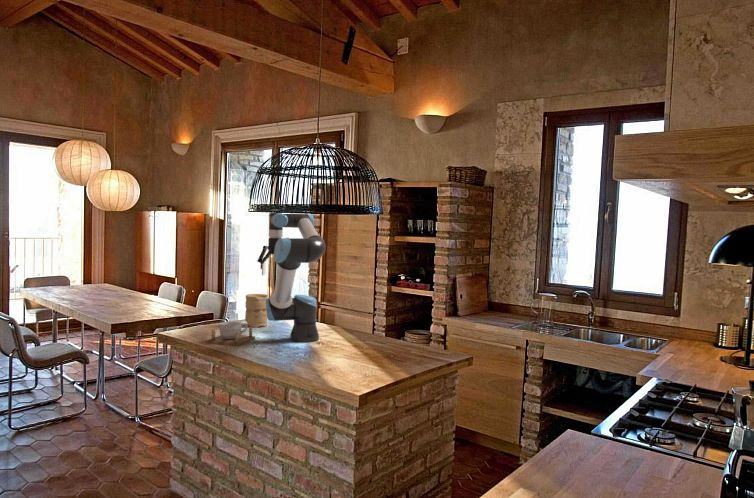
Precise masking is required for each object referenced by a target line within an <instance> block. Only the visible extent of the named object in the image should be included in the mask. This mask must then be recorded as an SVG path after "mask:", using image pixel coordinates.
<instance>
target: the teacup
mask: <svg viewBox="0 0 754 498" xmlns="http://www.w3.org/2000/svg"><path fill="white" fill-rule="evenodd" d="M218 326H219V336H222V337H223V338H224V339H235V338H236V332H239V335H243V333H244V332H246V331H247V330H248V329H249V325H248V323H247V322H246V323H245V322H242V323H241V322H239V321H224V322H220V323H219V325H218ZM243 326H245V328H243ZM242 328H243V330H242Z"/></svg>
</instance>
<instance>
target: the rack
mask: <svg viewBox="0 0 754 498" xmlns="http://www.w3.org/2000/svg"><path fill="white" fill-rule="evenodd" d="M254 340H256V336H254V335H253V327H250V326H248V335H247V334H246V335H244V334H241V335H239V332H236V338H235V339H224V338H223V337H222V336H221V335H218V336H216V330H215V329H211V338H210V339H208V340H207V343H208V344H213V345H223V346H224V345H225V346H232V345H233V346H234V347H240V346H243V345H244V344H247V343H250V342H252V341H254Z"/></svg>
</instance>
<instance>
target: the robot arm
mask: <svg viewBox="0 0 754 498" xmlns="http://www.w3.org/2000/svg"><path fill="white" fill-rule="evenodd" d="M314 223H315V218H314V215H313V214H311V213H290V214H282V213H269V214H268V237H269V238H268V246H267V245H263V246H262V251H261V252H260V254H259V257H258V258H257V261H256V262H257V263H260V270H261V276H266V262H267V260H268V259H269V258H270V256H271V255H273V260H274V261H275V263H276V264H277V266H278V268H277V275H276V279H275V284H274V290H273V292H272V293H271V295H270V296H269V297H268V298H267V299H266V312H267V321H273V322H274V321H275V322H276V321H293V326H292V329H291V332H290V334H289V340H291V341H292V342H297V343H300V342H301V343H311V342H312V343H313V342H316V341H319V340H320V334H319V332H318V327H317V307H318V306H317V299H316V298H315V297H314V296H312V295H306V294H294V295H293V297H292V290H293V286H294V281H295V276H296V272H297V270H298V269H299V268H300V266H301V264H302V263H303V264H311V263H315V262H317V261H319V260H320V259H321V258H322V256H324V254H325V252H326V249H327V248H326V247H327V245H326V243H325V242H326V241H325V239H324V238H323V237H322V236H320V235H319V233H318V231H317V230H316V228H315V227H314V225H315V224H314ZM283 228H291V229H295V228H296V229H297V228H298V230H299V232H300V235H301V236H302V238H297V237H295V238H292V237H291V238H290V237H283Z"/></svg>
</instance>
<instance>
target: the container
mask: <svg viewBox="0 0 754 498" xmlns="http://www.w3.org/2000/svg"><path fill="white" fill-rule="evenodd" d="M268 295H269V294H264V293H250V294H249V293H248V294H246V295H245V309H246V310H245V313H244V314H245V315H244V316H245V318H244V320H245V322H246V324H247V325H248V327H252V328H255V329H256V328H257V329H258V328H259V327H263V328H265V327H266V326H268V318H267V312H266V299H267V298H269V297H268Z"/></svg>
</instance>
